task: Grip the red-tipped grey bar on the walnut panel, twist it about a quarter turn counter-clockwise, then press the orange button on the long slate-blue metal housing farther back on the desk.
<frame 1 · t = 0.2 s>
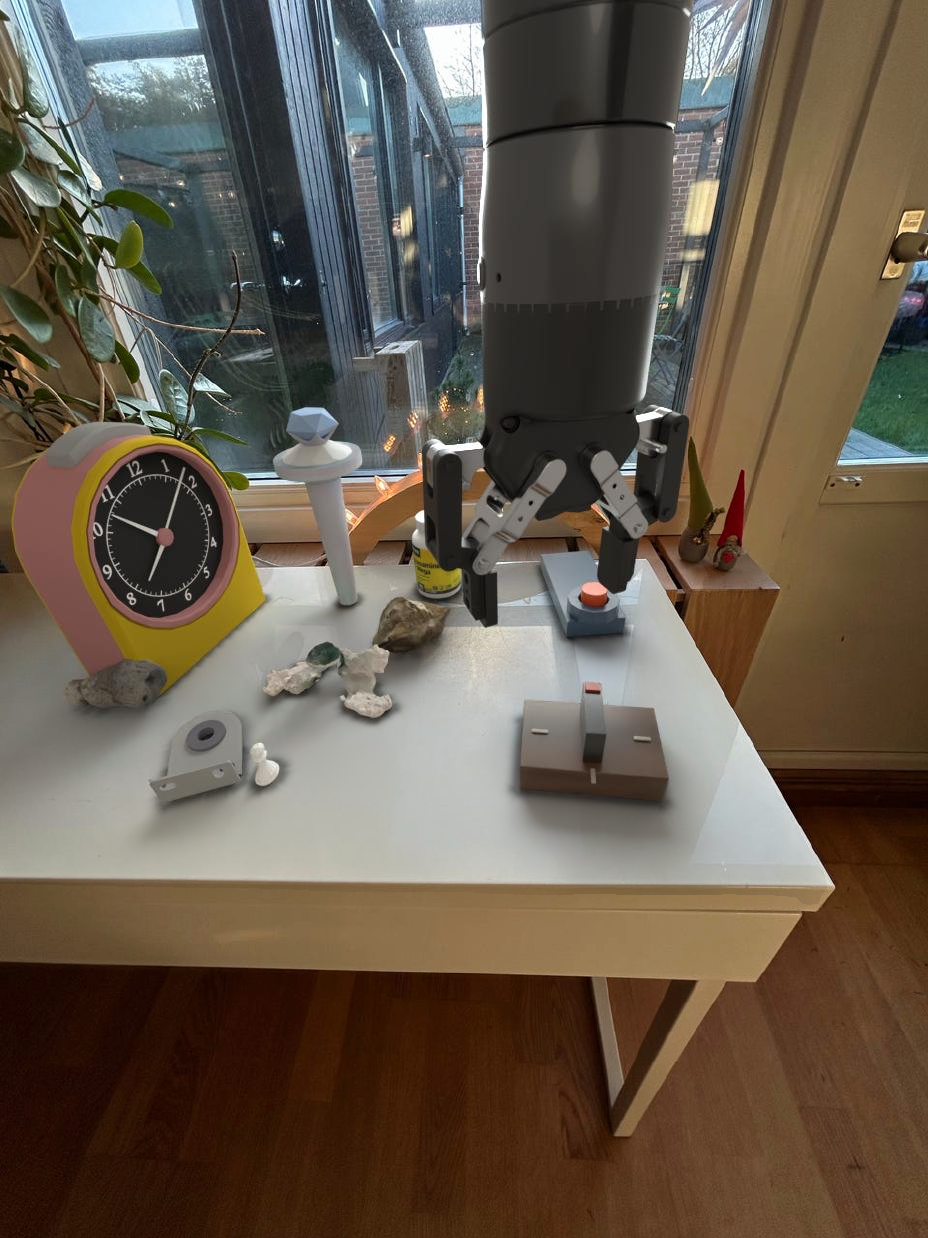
hand: (550, 602, 31), 21 cm above the table, tool pointing down, fingers open, 8 cm apart
alarm clock: (189, 639, 66), on the table, touching stone
red-tipped grey bar: (592, 720, 45), point 5 cm above the table, hinge at 0.0°
stone: (128, 701, 57), on the table, touching alarm clock
button box: (577, 596, 69), on the table
novelty light stick: (349, 601, 71), on the table
fossilized seashell: (413, 641, 63), on the table
pill bottle: (439, 589, 73), on the table
chess pawn: (268, 776, 48), on the table
bracket: (205, 761, 50), on the table
rock: (334, 688, 57), on the table
button: (594, 594, 61), point 4 cm above the table, slide at 0.1 cm
panel: (587, 757, 47), on the table
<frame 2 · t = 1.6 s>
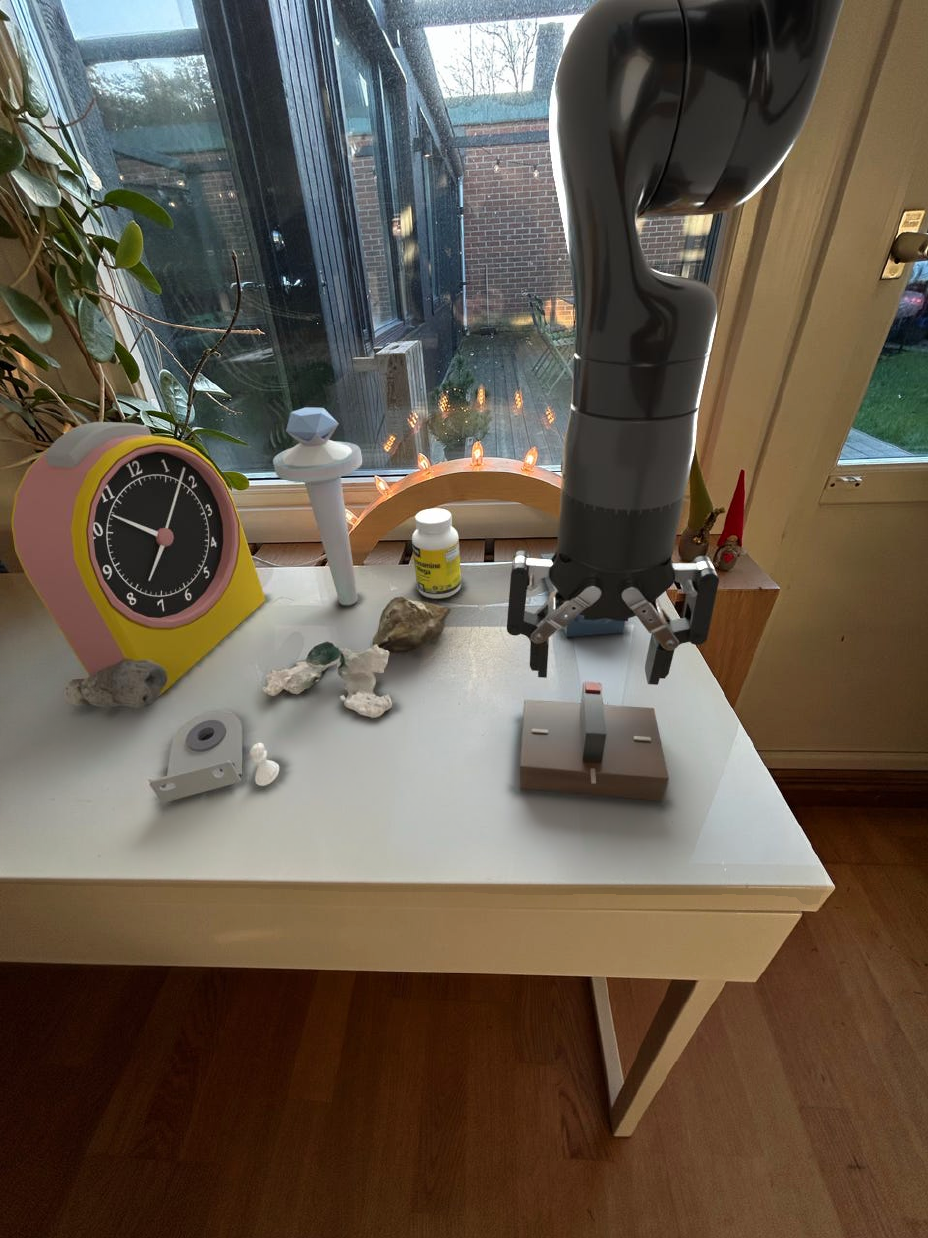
hand: (596, 674, 42), 10 cm above the table, tool pointing down, fingers open, 8 cm apart
nothing on the table moved.
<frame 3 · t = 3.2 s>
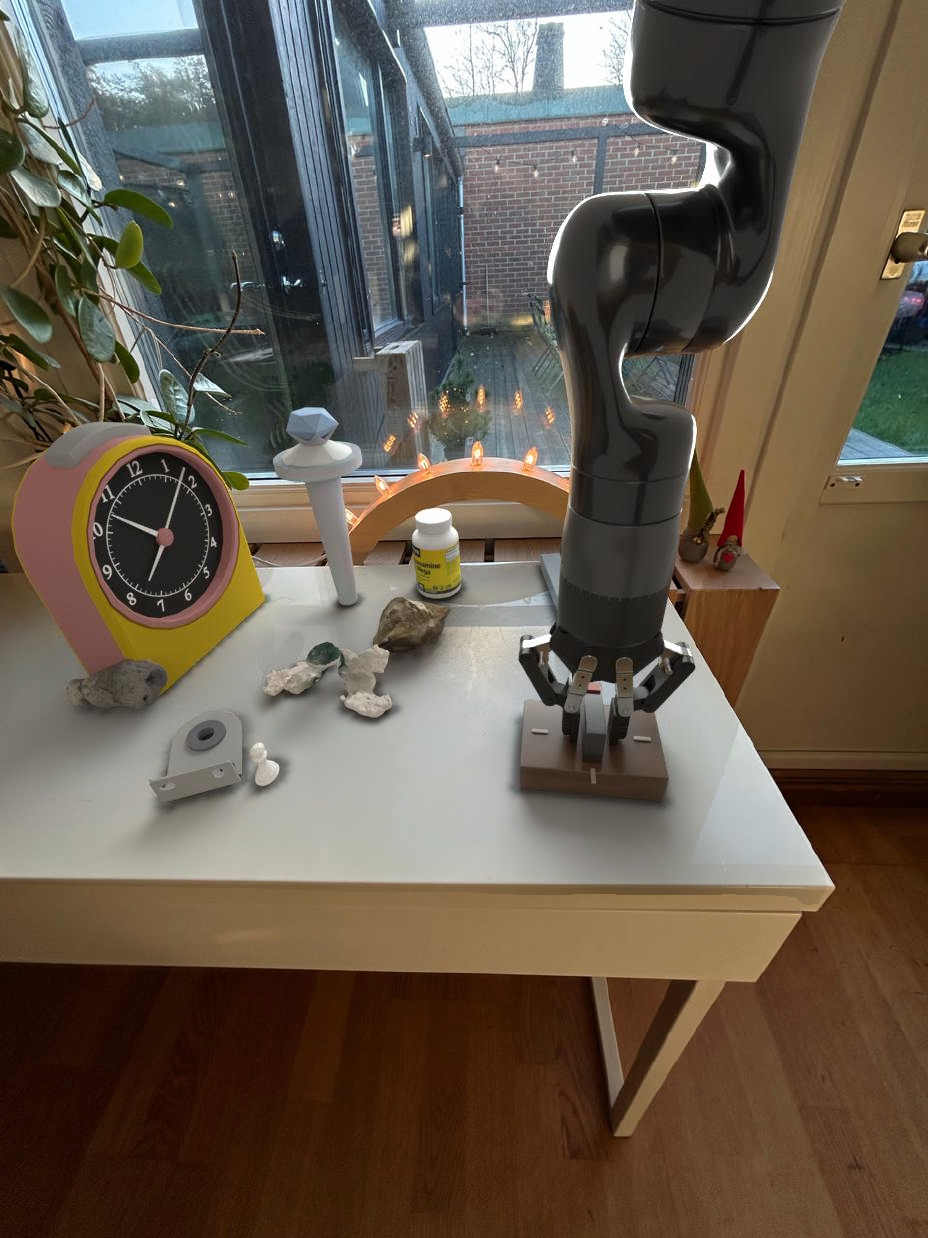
hand: (592, 734, 46), 3 cm above the table, tool pointing down, fingers closed on panel, 2 cm apart
nothing on the table moved.
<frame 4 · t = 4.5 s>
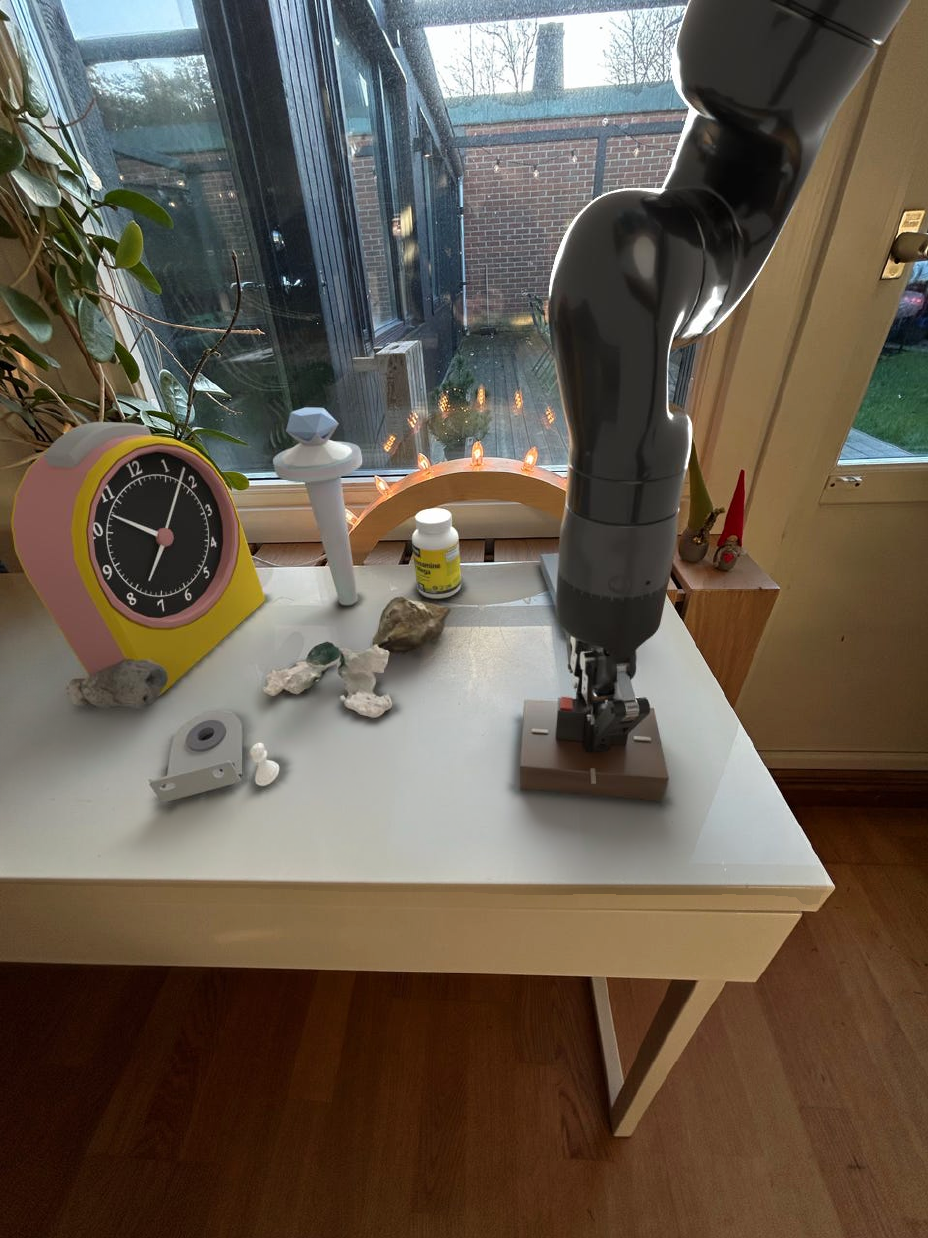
hand: (591, 734, 46), 3 cm above the table, tool pointing down, fingers closed on red-tipped grey bar, 2 cm apart
red-tipped grey bar: (592, 720, 45), point 5 cm above the table, hinge at 88.6°, touching gripper
everything else where it was.
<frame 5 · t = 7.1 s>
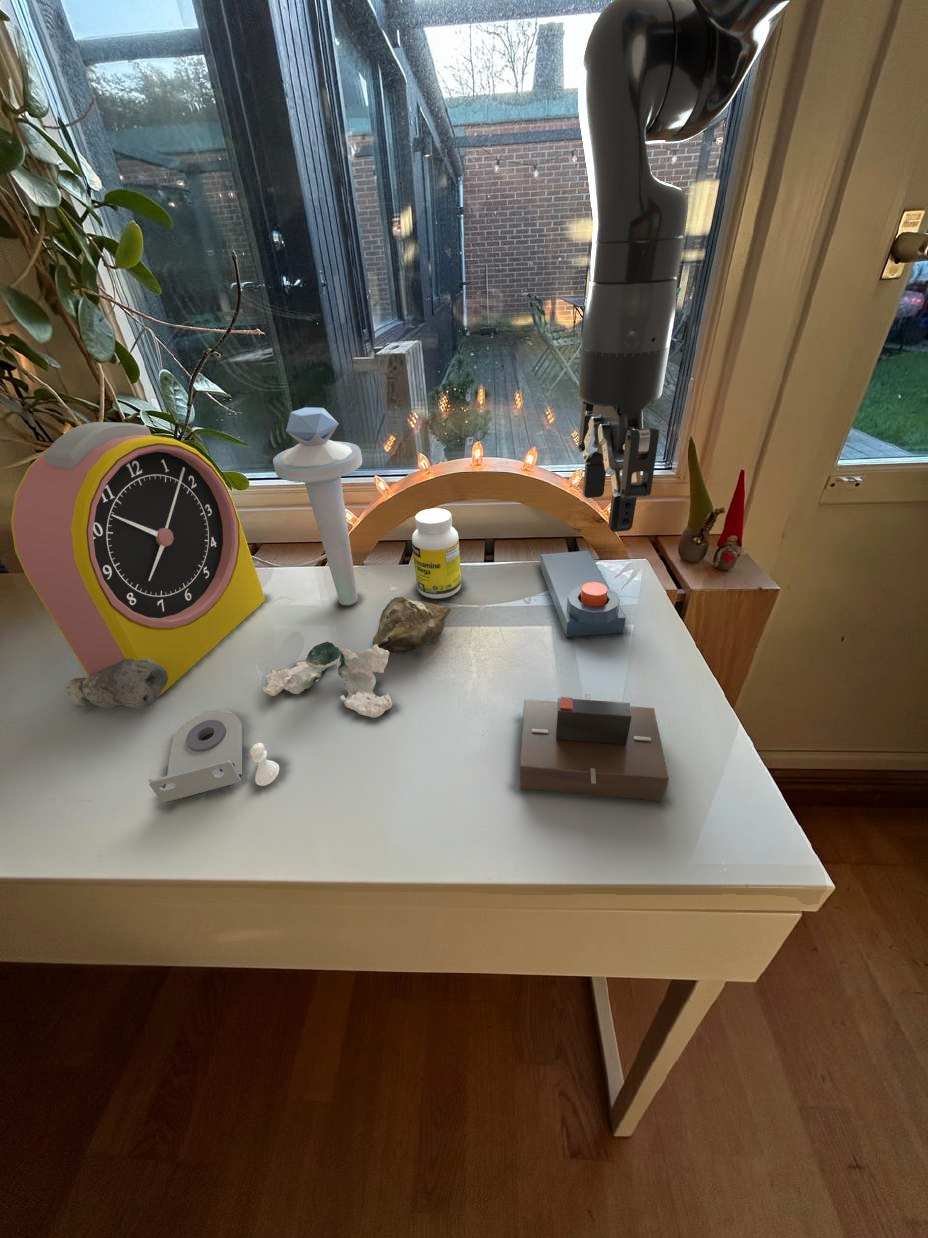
hand: (605, 511, 55), 15 cm above the table, tool pointing down, fingers open, 8 cm apart
red-tipped grey bar: (592, 720, 45), point 5 cm above the table, hinge at 89.6°
everything else where it was.
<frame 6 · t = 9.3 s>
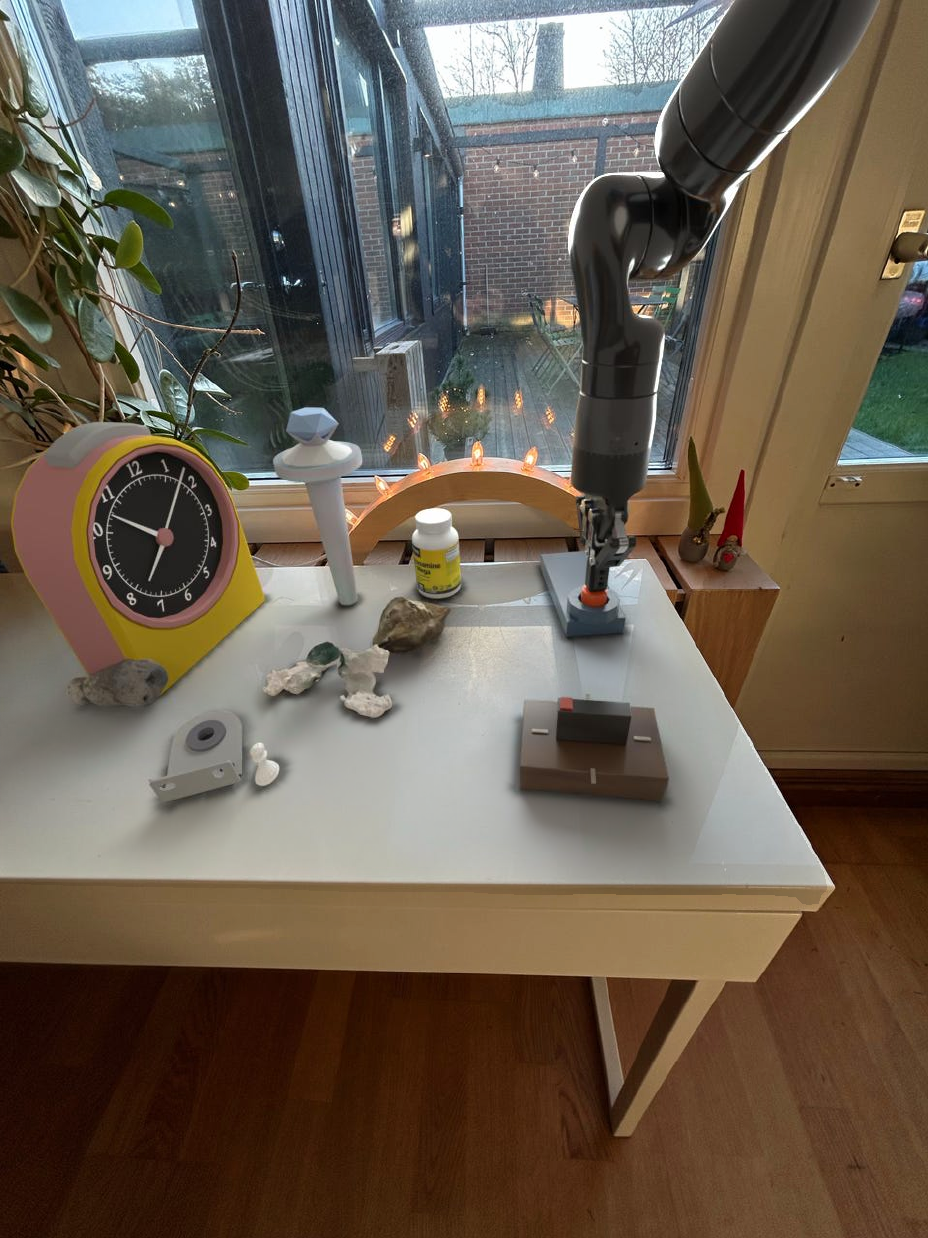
hand: (595, 588, 61), 5 cm above the table, tool pointing down, fingers closed
button: (593, 595, 61), point 4 cm above the table, slide at 0.0 cm, touching gripper
everything else where it was.
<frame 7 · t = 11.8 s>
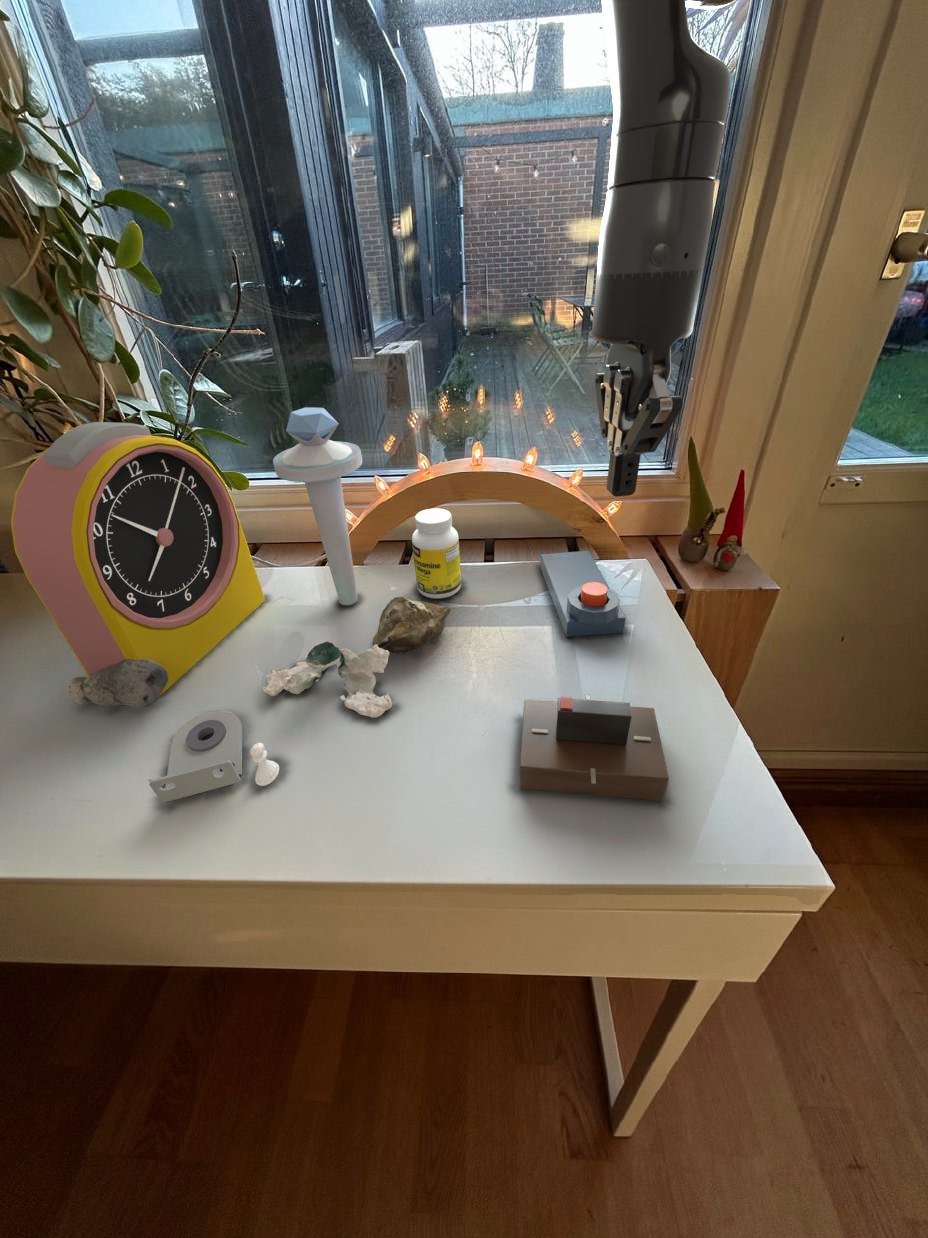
hand: (620, 492, 48), 19 cm above the table, tool pointing down, fingers closed
button: (594, 594, 61), point 4 cm above the table, slide at 0.1 cm
everything else where it was.
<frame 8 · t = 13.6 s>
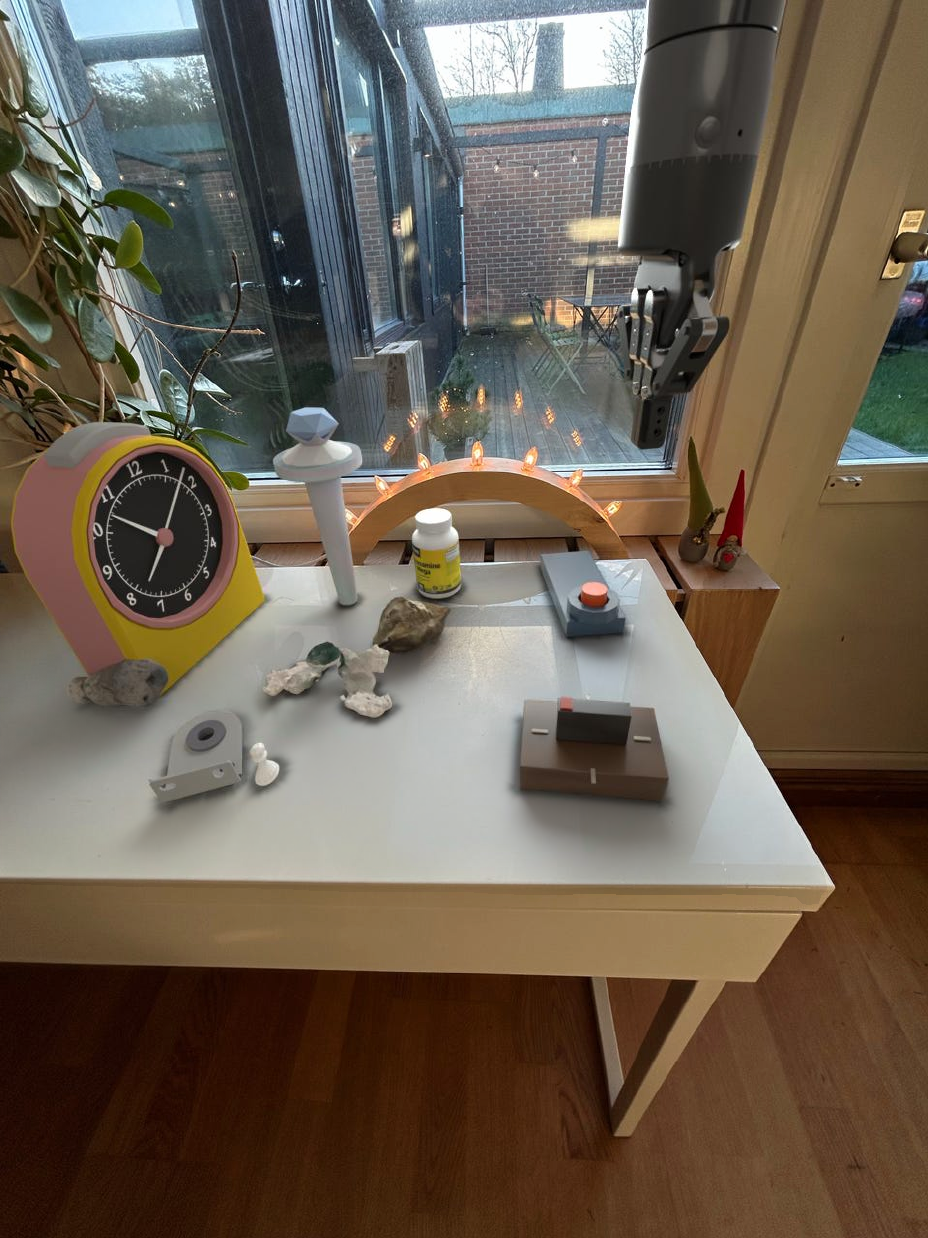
hand: (646, 445, 41), 25 cm above the table, tool pointing down, fingers closed
nothing on the table moved.
at the end: red-tipped grey bar at +90° (first picture: +0°); button pushed in 1.0 cm at the most during the clip, back to where it started at the end; button slide at 0.1 cm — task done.
